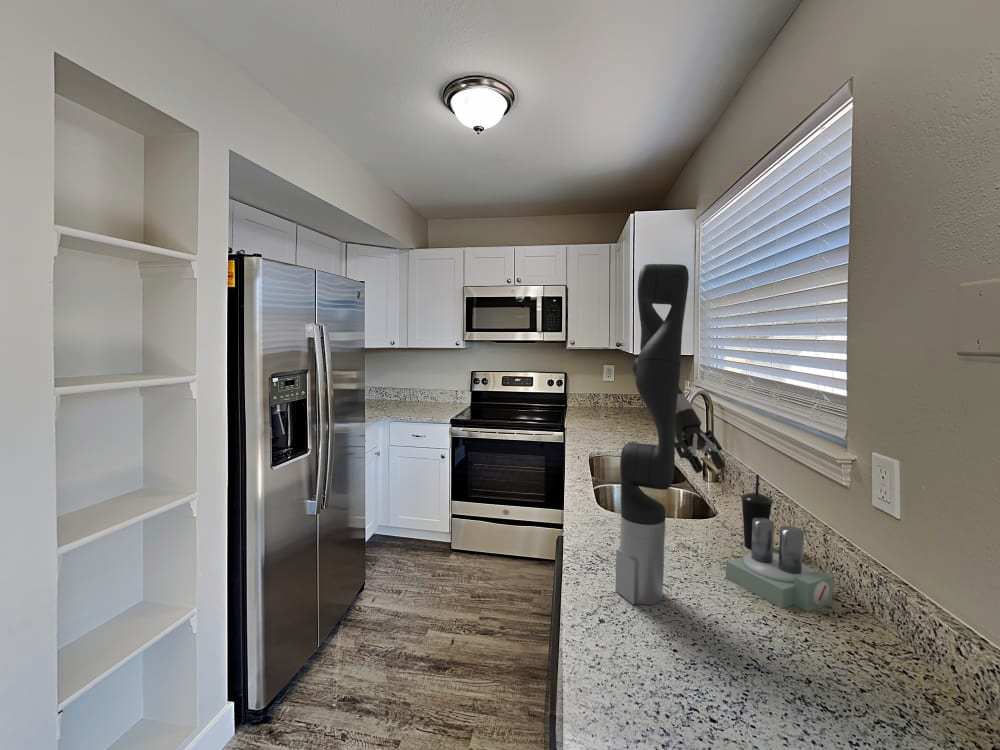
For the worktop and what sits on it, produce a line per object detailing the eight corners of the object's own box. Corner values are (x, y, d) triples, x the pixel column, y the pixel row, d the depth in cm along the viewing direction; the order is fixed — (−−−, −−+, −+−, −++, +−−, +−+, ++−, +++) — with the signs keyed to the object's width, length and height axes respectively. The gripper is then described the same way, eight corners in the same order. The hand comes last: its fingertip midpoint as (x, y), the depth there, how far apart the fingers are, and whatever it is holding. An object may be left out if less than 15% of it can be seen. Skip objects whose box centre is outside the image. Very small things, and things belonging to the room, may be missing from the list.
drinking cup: (768, 556, 121) (772, 480, 120) (736, 548, 126) (739, 475, 125) (772, 546, 128) (775, 474, 126) (741, 539, 132) (744, 469, 131)
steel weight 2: (793, 575, 101) (795, 535, 100) (773, 566, 105) (775, 527, 104) (806, 571, 103) (808, 532, 102) (787, 563, 107) (788, 524, 106)
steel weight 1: (764, 564, 106) (765, 525, 105) (746, 556, 110) (748, 519, 109) (777, 561, 108) (778, 523, 107) (759, 553, 112) (761, 516, 111)
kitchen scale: (798, 617, 94) (800, 588, 94) (725, 577, 110) (726, 552, 110) (844, 601, 100) (846, 574, 100) (769, 566, 116) (770, 542, 116)
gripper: (671, 408, 119) (704, 466, 111) (706, 406, 126) (739, 460, 118) (652, 423, 124) (682, 479, 116) (687, 420, 132) (717, 473, 124)
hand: (711, 469), depth 117 cm, fingers open, 8 cm apart
